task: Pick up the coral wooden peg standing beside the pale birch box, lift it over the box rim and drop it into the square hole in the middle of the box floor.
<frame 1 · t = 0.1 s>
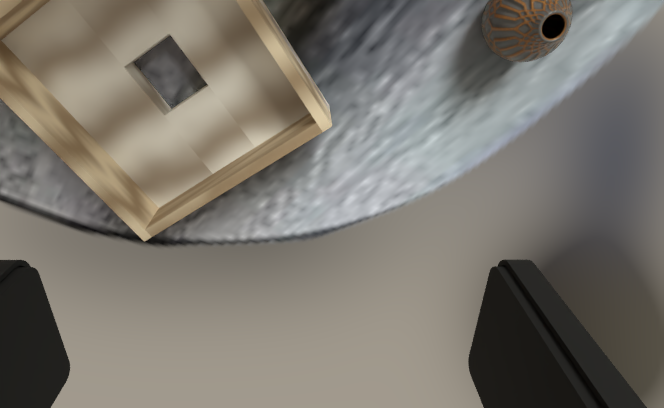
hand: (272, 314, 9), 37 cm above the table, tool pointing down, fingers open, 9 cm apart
insert box: (174, 71, 42), on the table
vase: (507, 16, 42), on the table
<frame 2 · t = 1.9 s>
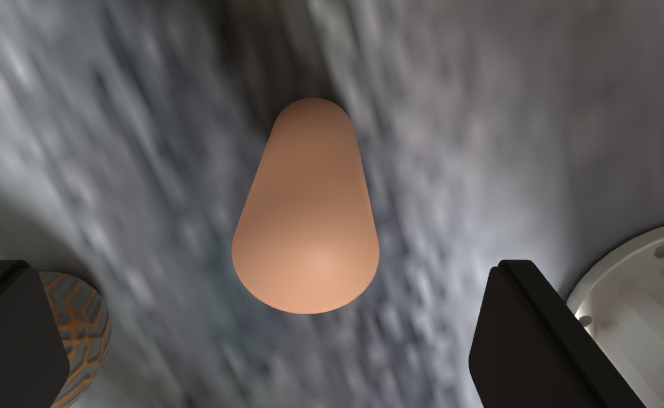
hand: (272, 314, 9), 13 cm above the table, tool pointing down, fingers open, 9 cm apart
peg: (313, 139, 21), on the table
vase: (68, 298, 25), on the table
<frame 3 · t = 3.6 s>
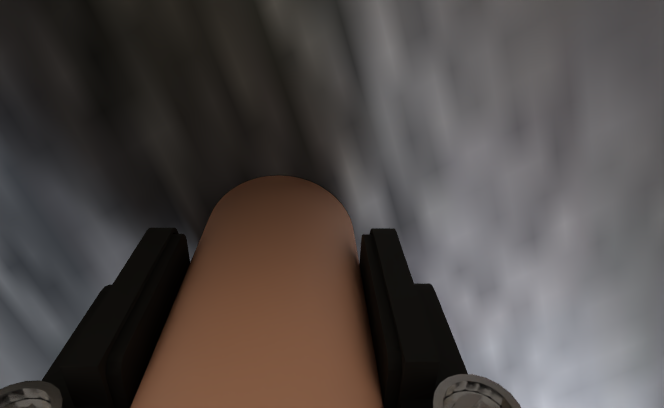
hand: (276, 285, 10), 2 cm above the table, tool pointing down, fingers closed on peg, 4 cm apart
peg: (280, 242, 12), on the table, touching gripper
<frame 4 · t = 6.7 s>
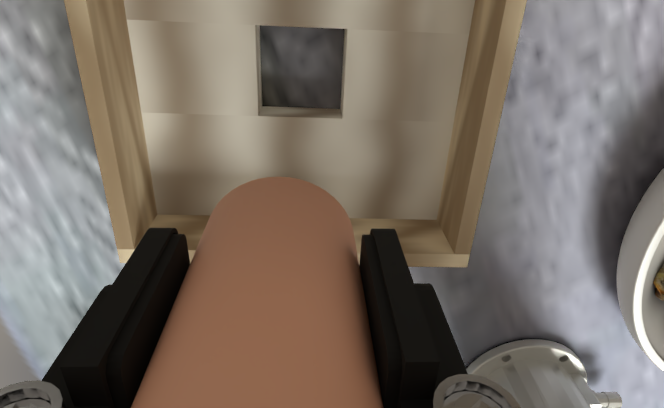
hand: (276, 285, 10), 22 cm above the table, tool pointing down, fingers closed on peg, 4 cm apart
insert box: (301, 67, 29), on the table
peg: (280, 244, 12), point 20 cm above the table, touching gripper
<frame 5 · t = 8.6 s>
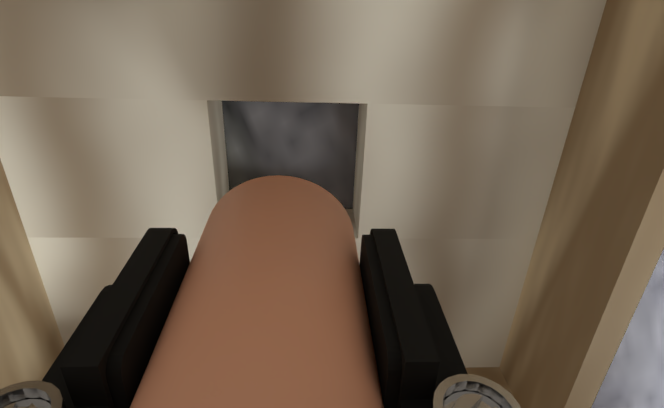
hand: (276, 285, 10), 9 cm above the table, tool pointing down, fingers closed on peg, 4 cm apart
insert box: (291, 151, 18), on the table
peg: (280, 243, 12), point 7 cm above the table, touching gripper
when the fingers open (4 cm above the table, at t = 10.0 s): peg drops 2 cm, resting in insert box.
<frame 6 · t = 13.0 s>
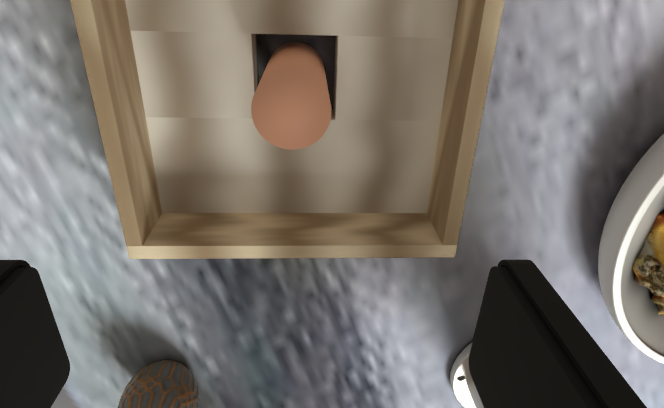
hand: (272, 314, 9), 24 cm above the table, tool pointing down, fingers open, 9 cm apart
insert box: (296, 71, 31), on the table
peg: (296, 71, 31), resting in insert box
vase: (170, 372, 44), on the table
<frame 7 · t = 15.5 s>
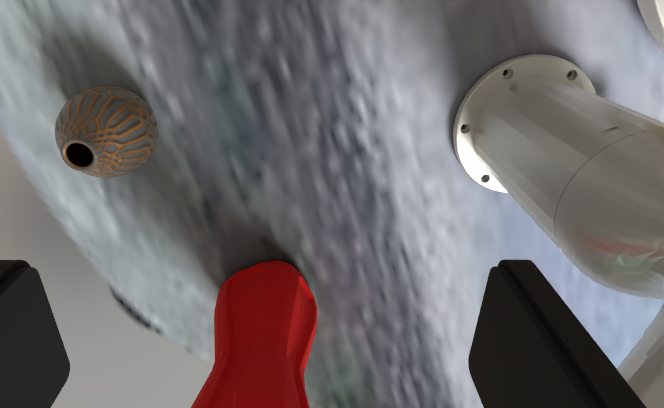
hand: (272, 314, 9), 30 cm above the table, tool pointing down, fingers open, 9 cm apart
water bottle: (273, 298, 48), on the table
vase: (127, 118, 38), on the table
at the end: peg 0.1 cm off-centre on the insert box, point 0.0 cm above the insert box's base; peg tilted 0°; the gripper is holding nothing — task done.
